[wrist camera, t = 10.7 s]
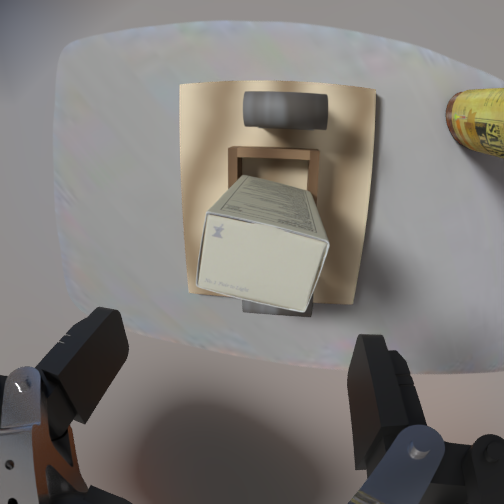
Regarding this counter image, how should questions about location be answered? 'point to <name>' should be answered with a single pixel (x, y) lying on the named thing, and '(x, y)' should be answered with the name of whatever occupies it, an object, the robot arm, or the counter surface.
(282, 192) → the skincare box
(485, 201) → the counter surface
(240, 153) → the board
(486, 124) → the sauce bottle
